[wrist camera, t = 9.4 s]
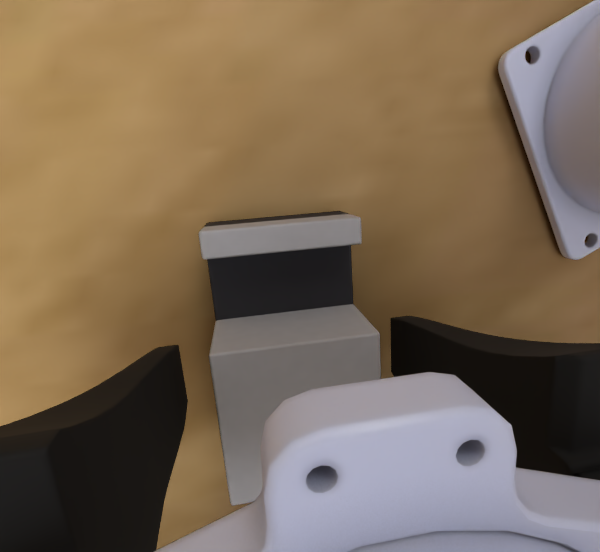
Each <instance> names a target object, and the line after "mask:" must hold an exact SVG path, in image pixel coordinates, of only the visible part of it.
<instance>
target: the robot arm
mask: <svg viewBox="0 0 600 552" xmlns="http://www.w3.org/2000/svg"><path fill="white" fill-rule="evenodd" d="M526 51H528V52H529V53H530V55H531V61H530V64H529V63H527V61H526V60H525V53H526ZM498 71H499V75H500V78H501V81H502V84H503V87H504V90H505V93H506V96H507V99H508V102H509V104H510V107H511V110H512V113H513V116H514V119H515V122H516V125H517V128H518V131H519V133H520V136H521V139H522V142H523V145H524V148H525V151H526V154H527V157H528V159H529V162H530V165H531V168H532V171H533V174H534V177H535V180H536V183H537V186H538V188H539V191H540V194H541V197H542V200H543V203H544V206H545V209H546V212H547V215H548V217H549V220H550V223H551V226H552V229H553V232H554V235H555V238H556V241H557V244H558V246H559V249H560V252H561V254H562V255H563V256H564V257H566V258H569V259H573V260H578V259H581V258H583V257H585V256H586V255H588V254H590V253H591V252H593V251H595V250H597V249H598V248H600V0H594V1H592V2H590V3H588V4H587V5H585V6H583V7H582V8H580V9H578V10H576V11H575V12H573V13H571V14H570V15H568V16H566V17H564V18H563V19H561V20H559V21H558V22H556V23H554V24H552V25H551V26H549V27H547V28H546V29H544V30H542V31H540V32H539V33H537V34H535V35H534V36H532V37H530V38H528V39H527V40H525V41H523V42H522V43H520V44H518V45H516V46H515V47H513V48H511V49H510V50H508V51H506V52H505V53H504V54H503V55H502V56H501V58H500V60H499V64H498ZM586 236H588V240H587V242H586V243H585V238H586ZM391 372H392V374H393V376H394V377H391V378H384V379H377V380H370V381H364V382H357V383H350V384H343V385H336V386H329V387H323V388H316V389H311V390H308V391H306V392H303V393H300V394H298V395H295V396H293V397H290V398H288V399H285V400H284V401H283V402H282V403H281V404H280V405H279V406H278V407H277V408H276V410H275V411H274V412H273V413H272V414H271V415H270V416H269V418H268V419H267V420H266V421H265V425H264V430H263V435H262V441H261V446H260V449H261V464H262V479H263V487H262V490H261V493H260V495H259V496H258V497H257V498H256V499H255V501H254V502H252V503H250V504H248V505H246V506H244V507H242V508H240V509H238V510H236V511H234V512H232V513H230V514H228V515H226V516H224V517H222V518H220V519H218V520H216V521H214V522H212V523H210V524H208V525H206V526H204V527H202V528H200V529H198V530H196V531H194V532H192V533H190V534H188V535H186V536H184V537H182V538H180V539H178V540H176V541H174V542H172V543H170V544H168V545H166V546H164V547H162V548H160V549H158V550H156V547H157V541H158V534H159V528H160V522H161V516H162V510H163V504H164V500H165V495H166V491H167V487H168V484H169V480H170V477H171V473H172V470H173V466H174V463H175V459H176V456H177V452H178V449H179V445H180V441H181V438H182V434H183V430H184V426H185V419H186V411H187V402H188V400H187V394H186V388H185V382H184V376H183V370H182V364H181V358H180V352H179V346H178V345H173V346H165V347H158V348H156V349H154V350H152V351H151V352H149V353H147V354H146V355H144V356H143V357H141V358H140V359H138V360H137V361H135V362H134V363H132V364H131V365H129V366H128V367H126V368H125V369H123V370H122V371H120V372H119V373H117V374H115V375H114V376H112V377H111V378H109V379H107V380H106V381H104V382H102V383H101V384H99V385H97V386H96V387H94V388H92V389H90V390H88V391H86V392H85V393H83V394H81V395H78V396H76V397H74V398H72V399H70V400H68V401H66V402H64V403H62V404H59V405H57V406H54V407H52V408H49V409H47V410H44V411H42V412H40V413H37V414H35V415H32V416H30V417H27V418H24V419H21V420H18V421H15V422H12V423H10V424H6V425H3V426H0V552H600V343H595V344H592V343H551V342H538V341H527V340H518V339H511V338H504V337H498V336H492V335H487V334H482V333H478V332H473V331H469V330H465V329H461V328H457V327H453V326H450V325H446V324H442V323H439V322H435V321H431V320H428V319H423V318H419V317H414V316H403V317H395V318H391Z"/></svg>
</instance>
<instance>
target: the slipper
mask: <svg viewBox="0 0 600 552" xmlns="http://www.w3.org/2000/svg"><path fill="white" fill-rule="evenodd" d="M199 240H200V248H201V255H202V258H203V259H205V260H206V259H207V261H208V268H209V276H210V283H211V290H212V297H213V305H214V312H215V319H216V323H215V328H214V333H213V338H212V343H211V348H210V353H209V361H210V368H211V374H212V381H213V388H214V395H215V402H216V408H217V415H218V422H219V429H220V436H221V443H222V449H223V456H224V463H225V470H226V477H227V483H228V490H229V497H230V503H231V505H239V504H244V503H250V502H254V501H255V499H256V498H257V497H258V496H259V495H260V493H261V490H262V487H263V479H262V464H261V449H260V446H261V441H262V435H263V430H264V425H265V421H266V420H267V419H268V418H269V416H270V415H271V414H272V413H273V412H274V411H275V410H276V408H277V407H278V406H279V405H280V404H281V403H282V402H283V401H284V400H285V399H288V398H290V397H293V396H295V395H298V394H300V393H303V392H306V391H308V390H311V389H316V388H323V387H329V386H336V385H343V384H350V383H357V382H364V381H370V380H377V379H381V365H380V334H379V332H378V331H377V330H376V329H375V327H374V326H373V325H372V324H371V323H370V322H369V321H368V320H367V319H366V318H365V316H364V315H363V314H362V313H361V312H360V311H359V310H358V309H357V308H356V306H355V305H354V304H353V286H352V262H351V245H356V244H361V242H362V236H361V218H360V217H357V216H354V215H351V214H347V213H344V212H341V211H334V212H323V213H311V214H300V215H289V216H277V217H266V218H254V219H243V220H232V221H220V222H209V223H207V224H206V225H205V226H204V227H203V228H202V229H201V230H200V232H199Z"/></svg>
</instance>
